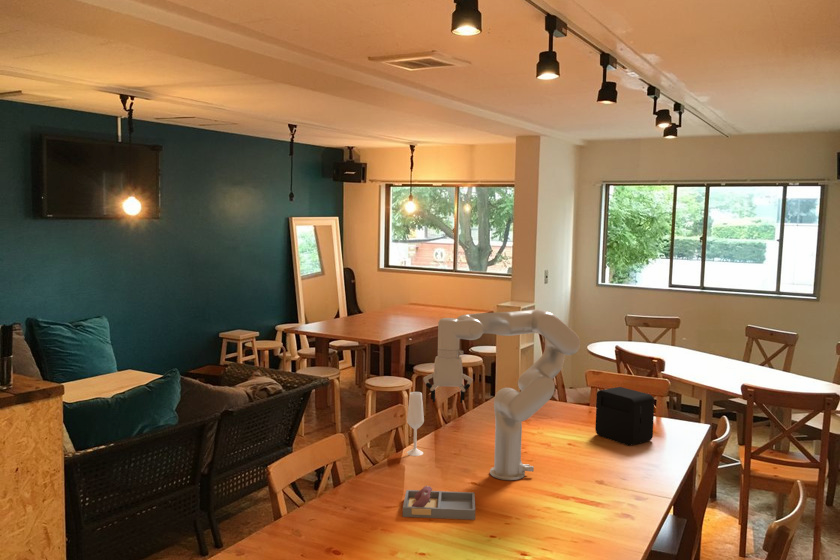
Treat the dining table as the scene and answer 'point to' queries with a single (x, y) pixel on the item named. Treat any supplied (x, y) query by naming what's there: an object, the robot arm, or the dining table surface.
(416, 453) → the champagne flute
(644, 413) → the air purifier
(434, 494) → the tray
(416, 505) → the purple-brown lumpy piece
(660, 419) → the dining table surface
